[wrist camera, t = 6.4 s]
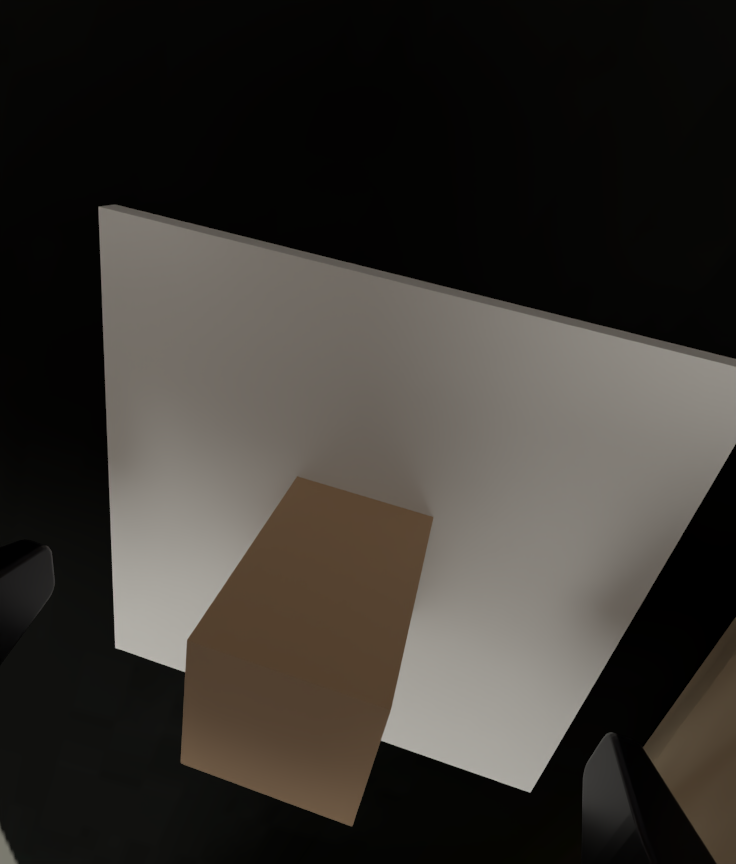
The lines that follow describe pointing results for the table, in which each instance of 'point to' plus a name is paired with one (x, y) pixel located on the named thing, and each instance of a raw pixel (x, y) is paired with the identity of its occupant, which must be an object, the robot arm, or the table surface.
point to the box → (704, 749)
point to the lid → (380, 504)
